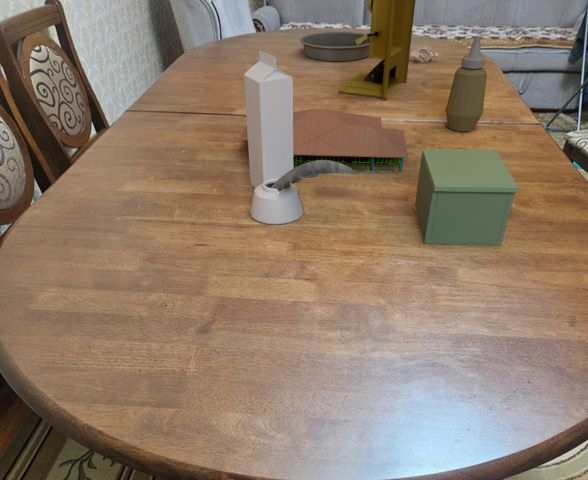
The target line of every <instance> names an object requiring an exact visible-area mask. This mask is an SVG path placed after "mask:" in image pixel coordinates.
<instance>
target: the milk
mask: <svg viewBox="0 0 588 480" xmlns="http://www.w3.org/2000/svg"><path fill="white" fill-rule="evenodd" d="M243 83H244V84H243V85H244V99H245V100H244V101H245V117H246V125H247V134H248V142H247V147H248V148H247V149H248V150H247V151H248V165H249V181H250V186H252V188H254V189H255V188H256V187H257V186H259V185H260V184H263V182H264V181H266V180H269V179H274V178H281V177H282V176H283V175H285V174H286V173H287V172H289V171H290V170H292V169H294V168H295V167H294V166H295V165H294V161H293V160H294V159H293V158H294V156H293V112H294V77H292V76H291V75H289V74H287V73H285V72H284V71H282V70H280V69H278V68H277V59H276V57H275V56H273V55H272V54H269V53H266V52H264V51H262V50H259V51H258V61H257V62H256V63H255V64H254V65H252V66H251V67H250V68H249V69H248V70H247V71H246V72H245V73H244V74H243ZM292 184H293V185H295V183H292Z"/></svg>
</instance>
